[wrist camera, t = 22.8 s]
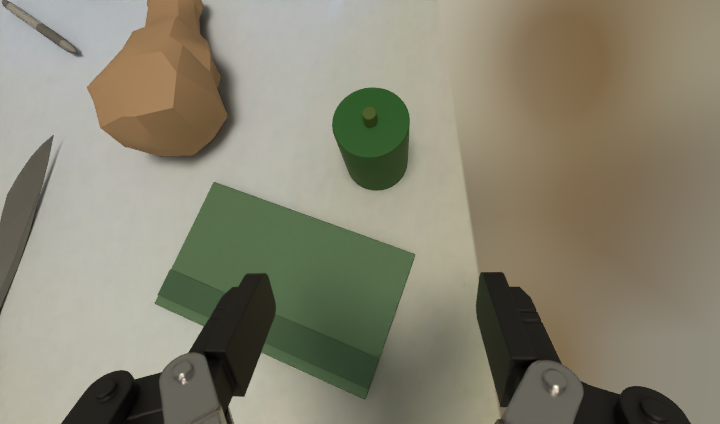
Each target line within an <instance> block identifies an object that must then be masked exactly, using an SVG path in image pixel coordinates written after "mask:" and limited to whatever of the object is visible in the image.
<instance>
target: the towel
mask: <svg viewBox="0 0 720 424" xmlns="http://www.w3.org/2000/svg"><path fill="white" fill-rule="evenodd" d="M414 257H415V254H413V253H410V252H407V251H405V250H402V249H399V248H396V247H393V246H391V245H388V244H385V243H382V242H380V241H377V240H374V239H371V238H368V237H366V236H363V235H360V234H357V233H355V232H352V231H349V230H346V229H343V228H341V227H338V226H335V225H332V224H330V223H327V222H324V221H321V220H318V219H316V218H313V217H310V216H307V215H305V214H302V213H299V212H296V211H293V210H291V209H288V208H285V207H282V206H280V205H277V204H274V203H271V202H268V201H266V200H263V199H260V198H257V197H255V196H252V195H249V194H246V193H243V192H241V191H238V190H235V189H232V188H230V187H227V186H224V185H221V184H218V183H216V182H214V183H213V185H212V187H211V189H210V191H209V193H208V195H207V197H206V199H205V201H204V203H203V205H202V207H201V209H200V212H199V214H198V216H197V218H196V220H195V222H194V224H193V226H192V228H191V230H190V232H189V234H188V236H187V238H186V240H185V242H184V244H183V246H182V248H181V250H180V252H179V255H178V257H177V259H176V261H175V263H174V265H173V267H172V269H170V271H169V273H168V275H167V277H166V279H165V281H164V283H163V285H162V287H161V289H160V291H159V293H158V295H159V296H158V298H157V300H156V302H155V304H156V305H159V306H161V307H163V308H165V309H167V310H170V311H172V312H174V313H176V314H178V315H181V316H183V317H185V318H187V319H189V320H192V321H194V322H196V323H198V324H200V325H203V326H205V324H206V322H207V321H208V319H210V316H211V314H212V312H213V311H214V309H216V306H217V304H218V302H219V300H220V299H221V297H222V296H223V295H224V294H225V293H226V292H227V291H228V290H230V289H231V288H232V287H238V286H239V284H240V283H241V281H242V279H243V277H244V276H245V274H247V273H266V274H267V275H268V277H269V280H270V284H271V287H272V291H273V294H274V298H275V302H276V313H275V318H274V320H273V323H272V326H271V328H270V331H269V333H268V336H267V339H266V341H265V344H264V346H263V349H262V353H264V354H266V355H268V356H271V357H273V358H275V359H277V360H279V361H282V362H284V363H286V364H288V365H290V366H292V367H295V368H297V369H299V370H301V371H303V372H306V373H308V374H310V375H312V376H314V377H317V378H319V379H321V380H323V381H325V382H328V383H330V384H332V385H334V386H336V387H339V388H341V389H343V390H345V391H347V392H350V393H352V394H354V395H356V396H358V397H360V398H363V399H365V398H366V396H367V393H368V390H369V387H370V384H371V381H372V378H373V375H374V372H375V370H376V367H377V364H378V361H379V358H380V355H381V352H382V349H383V347H384V344H385V341H386V338H387V335H388V332H389V329H390V326H391V323H392V321H393V318H394V315H395V312H396V309H397V306H398V303H399V300H400V298H401V295H402V292H403V289H404V286H405V283H406V280H407V277H408V274H409V272H410V269H411V266H412V263H413V260H414Z"/></svg>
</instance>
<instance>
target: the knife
mask: <svg viewBox="0 0 720 424" xmlns="http://www.w3.org/2000/svg"><path fill="white" fill-rule="evenodd" d="M53 136H54V135H53ZM53 136H51V137H50V138H49V139H48V140H47V141H46V142H45V143H43V144H42V145H41V146H40V147H39V149H38V150H37V151H36V152H35V153H34V154H33V155H32V156H31V158H30V159H29V161H28V162H27V163H26V165H25V166H24V168H23V169H22V171H21V172H20V174H19V175H18V177H17V178H16V180H15V182H14V184H13V186H12V187H11V189H10V191H9V193H8V194H7V198H6V201H5V205H4V208H3V212H2V216H1V221H0V308H1V305H2V303H3V300H4V298H5V295H6V293H7V291H8V289H9V286H10V284H11V282H12V280H13V277H14V275H15V273H16V271H17V268H18V265H19V262H20V259H21V256H22V253H23V250H24V247H25V244H26V241H27V238H28V235H29V232H30V229H31V225H32V221H33V218H34V214H35V210H36V207H37V203H38V199H39V196H40V192H41V188H42V184H43V180H44V177H45V173H46V169H47V165H48V161H49V156H50V151H51V146H52V141H53Z"/></svg>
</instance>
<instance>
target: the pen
mask: <svg viewBox="0 0 720 424" xmlns="http://www.w3.org/2000/svg"><path fill="white" fill-rule="evenodd" d="M2 4H3V6H4V7H5V8H6V9H8V10H9V11H11V12H12V13H13V14H15V15H16V16H18V17H19V18H21V19H22V20H23V21H25V22H26V23H28V24H29V25H31V26H32V27H33V28H35V29H36V30H37V31H39V32H40V33H41V34H43V35H44V36H46V37H47V38H49V39H50V40H51V41H53V42H54V43H56V44H57V45H58V46H60V47H62V48H63V49H65V50H67V51H70V52H73V53H75V52H76V49H75V48H74V47H73V45H72V44H71V43H69V42H68V41H67V40H66V39H64V38H63V37H61V36H60V35H58V34H57V33H56V32H54V31H53V30H51V29H50V28H48V27H47V26H45V25H44V24H42V23H40V22H39V21H37V20H36V19H35V18H33V17H32V16H30V15H29V14H27V13H26V12H24V11H23V10H22V9H20V8H19V7H17V6H16V5H14V4H13V3H11V2H9V1H7V0H2Z"/></svg>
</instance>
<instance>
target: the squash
mask: <svg viewBox="0 0 720 424" xmlns="http://www.w3.org/2000/svg"><path fill="white" fill-rule="evenodd" d="M147 6H148V12H147V18H146V25H145V27H144V28H141V29H138V30H136V31H133V32H132V34H131V36H130V37H129V39H128V41H127V42H126V44H125V46H124V47H123V49H122V50H121V51H120V52H119V53H118V54H117V55H116V56H115V58H114V59H113V60H112V61H111V62H110V63H109V64H108V65H107V66H106V67H105V69H104V70H103V71H102V72H101V73H100V74H99V75H98V76H97V77H96V78H95V79H94V80H93V81H92V82H91V83H90V85H89V86H88V87H87V89H88V91H89V93H90V95H91V97H92V99H93V102H94V105H95V109H96V113H97V117H98V121H99V124H100V128H101V129H103V130H104V131H105V132H106V133H108V134H109V135H110V136H112V137H113V138H114V139H115V140H117V141H118V142H119V143H121V144H122V145H123V146H124V147H128V148H132V149H136V150H139V151H143V152H146V153H150V154H154V155H157V156H186V155H194V154H196V153H197V152H198V151H199V150H200V149H202V148H203V147H204V146H205V145H207V144H208V143H209V142H210V141H211V140H213V139H214V137H215V136H216V134H217V132H218V131H219V129H220V128H221V126H222V124H223V123H224V121H225V119H226V118H227V116H228V115H227V112H226V110H225V108H224V105H223V103H222V100H221V98H220V95H219V93H218V90H217V89H218V86H219V82H220V79H221V77H220V74H219V72H218V70H217V68H216V66H215V64H214V61H213V57H212V54H211V51H210V47H209V44H208V41H206V40H205V39H204V38H203V37H202V36H201V35H200V21H199V18H200V15H201V12H202V9H203V4H202V1H201V0H147Z"/></svg>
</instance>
